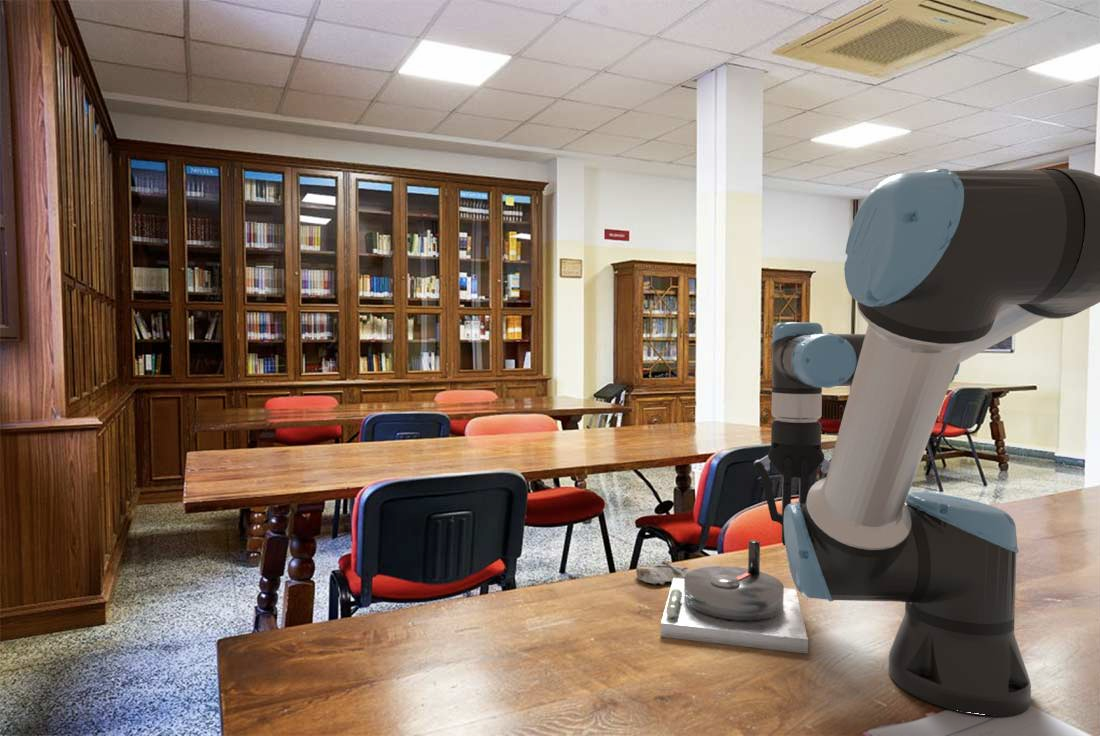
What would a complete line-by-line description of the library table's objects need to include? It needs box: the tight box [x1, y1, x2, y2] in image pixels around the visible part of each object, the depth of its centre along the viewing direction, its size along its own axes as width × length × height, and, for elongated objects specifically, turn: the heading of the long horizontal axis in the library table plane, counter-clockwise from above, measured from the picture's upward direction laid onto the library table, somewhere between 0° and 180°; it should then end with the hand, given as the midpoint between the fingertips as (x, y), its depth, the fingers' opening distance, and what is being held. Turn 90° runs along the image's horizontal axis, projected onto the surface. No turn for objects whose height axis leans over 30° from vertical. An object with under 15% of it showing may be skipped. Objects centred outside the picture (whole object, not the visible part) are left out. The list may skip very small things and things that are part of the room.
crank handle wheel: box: [684, 539, 785, 620], centre depth 106 cm, size 15×15×8 cm
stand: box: [660, 578, 809, 655], centre depth 105 cm, size 20×20×4 cm
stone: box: [635, 560, 691, 586], centre depth 122 cm, size 10×7×3 cm
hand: (793, 565), depth 109 cm, fingers closed
